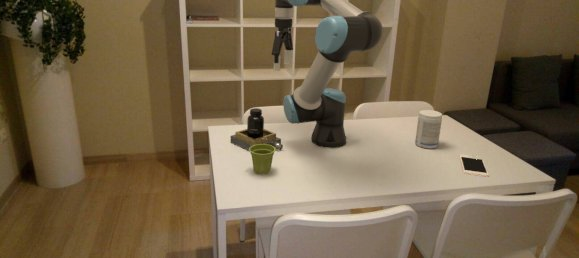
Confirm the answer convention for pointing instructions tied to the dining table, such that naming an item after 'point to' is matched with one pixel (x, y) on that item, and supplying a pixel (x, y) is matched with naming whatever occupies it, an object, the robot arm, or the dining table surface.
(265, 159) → the plant pot
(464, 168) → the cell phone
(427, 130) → the supplement tub
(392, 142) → the dining table surface
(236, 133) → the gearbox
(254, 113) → the supplement bottle
